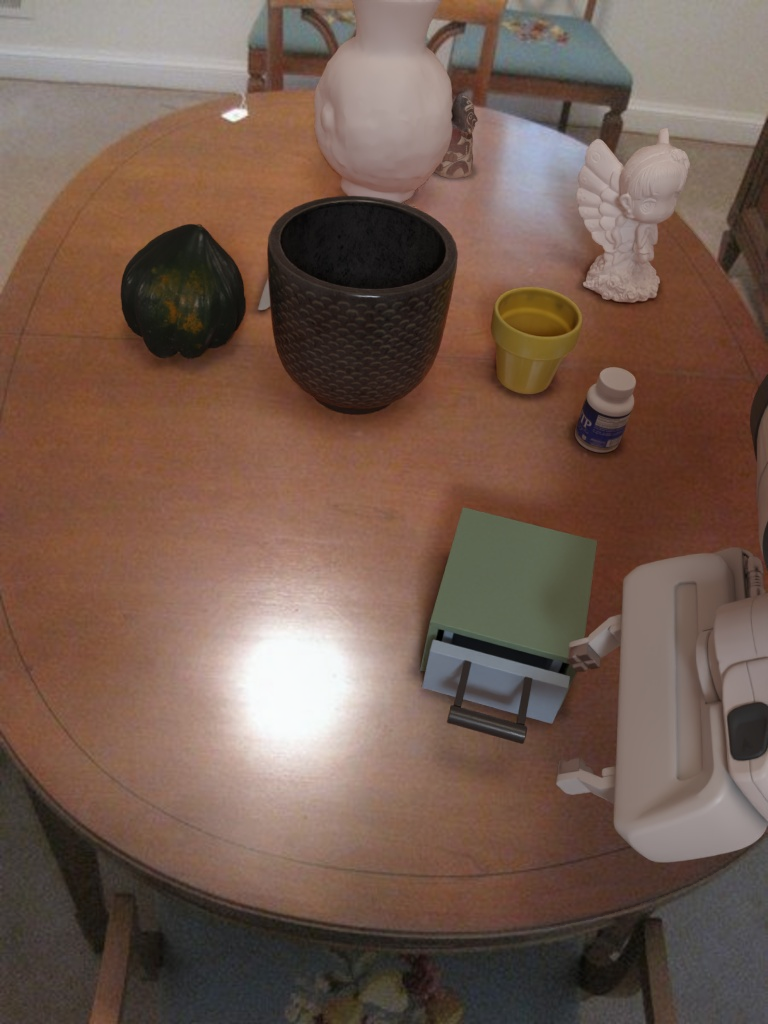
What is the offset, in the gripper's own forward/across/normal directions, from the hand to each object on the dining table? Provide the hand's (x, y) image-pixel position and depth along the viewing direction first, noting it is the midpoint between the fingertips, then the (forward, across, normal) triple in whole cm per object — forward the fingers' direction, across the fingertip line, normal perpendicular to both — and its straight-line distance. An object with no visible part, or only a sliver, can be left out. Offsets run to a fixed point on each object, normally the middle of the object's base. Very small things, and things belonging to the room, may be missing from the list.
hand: (566, 715), depth 58 cm
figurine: (+27, -106, -7) cm, 110 cm away
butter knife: (+40, -69, -19) cm, 82 cm away
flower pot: (+14, -55, +6) cm, 57 cm away
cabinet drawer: (+12, -11, +7) cm, 18 cm away
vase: (+34, -94, -14) cm, 101 cm away
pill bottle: (+8, -46, +13) cm, 49 cm away
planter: (+28, -46, -8) cm, 55 cm away
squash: (+44, -49, -23) cm, 70 cm away
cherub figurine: (+7, -81, +13) cm, 83 cm away
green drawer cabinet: (+13, -17, +7) cm, 22 cm away
